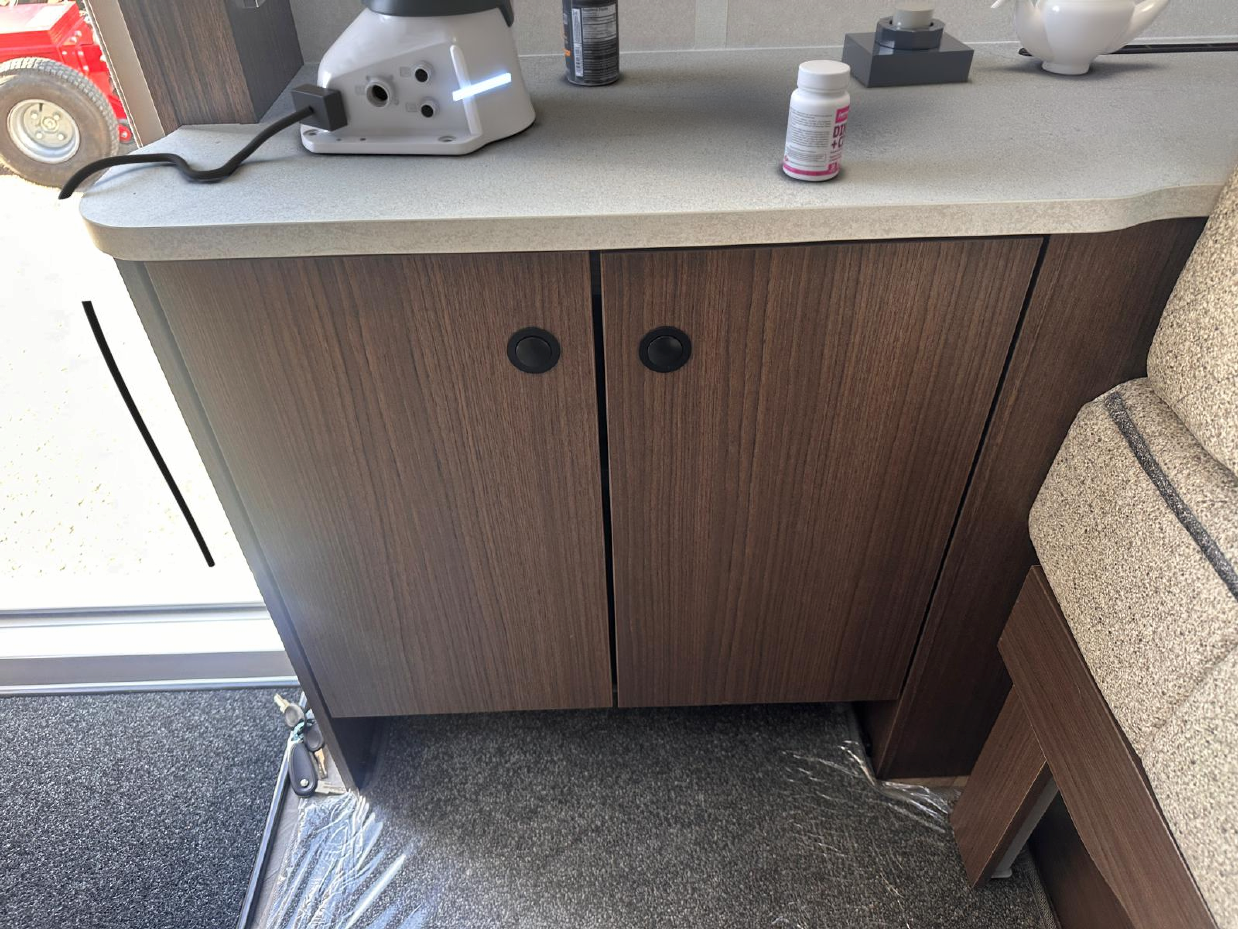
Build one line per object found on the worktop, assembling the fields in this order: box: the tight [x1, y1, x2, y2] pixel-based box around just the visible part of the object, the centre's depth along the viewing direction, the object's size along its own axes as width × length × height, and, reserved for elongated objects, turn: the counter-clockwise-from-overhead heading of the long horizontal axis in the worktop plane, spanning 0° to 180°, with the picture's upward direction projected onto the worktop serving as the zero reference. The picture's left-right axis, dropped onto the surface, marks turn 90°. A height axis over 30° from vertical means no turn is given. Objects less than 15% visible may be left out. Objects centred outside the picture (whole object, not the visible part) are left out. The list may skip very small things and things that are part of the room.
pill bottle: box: [782, 59, 851, 182], centre depth 69 cm, size 5×5×8 cm
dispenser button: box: [892, 1, 935, 29], centre depth 89 cm, size 4×4×2 cm
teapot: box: [990, 0, 1173, 76], centre depth 89 cm, size 10×20×9 cm, turn 91°
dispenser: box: [840, 15, 975, 88], centre depth 91 cm, size 11×9×5 cm
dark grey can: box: [561, 0, 621, 86], centre depth 89 cm, size 6×6×11 cm
